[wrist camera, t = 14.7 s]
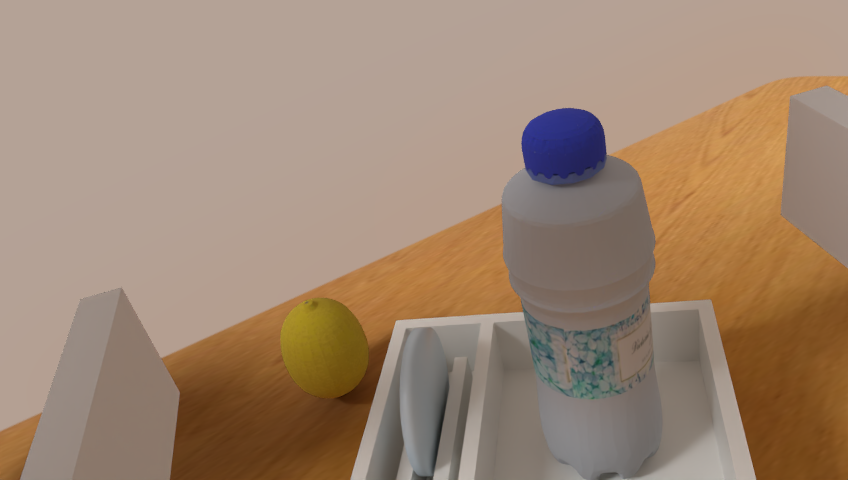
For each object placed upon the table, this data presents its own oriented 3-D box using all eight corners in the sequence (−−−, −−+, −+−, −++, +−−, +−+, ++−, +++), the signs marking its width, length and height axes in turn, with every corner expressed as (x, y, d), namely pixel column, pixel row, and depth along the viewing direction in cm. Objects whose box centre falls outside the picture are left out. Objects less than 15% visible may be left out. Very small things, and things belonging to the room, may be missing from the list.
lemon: (346, 353, 53) (313, 266, 49) (397, 382, 49) (366, 290, 45) (287, 402, 50) (247, 313, 46) (337, 436, 47) (299, 343, 42)
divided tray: (369, 571, 38) (316, 456, 33) (414, 378, 49) (380, 270, 44) (760, 581, 33) (767, 448, 28) (711, 365, 45) (710, 242, 40)
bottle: (652, 512, 36) (621, 157, 25) (525, 479, 39) (451, 153, 29) (680, 412, 41) (663, 77, 30) (564, 390, 44) (512, 81, 33)
